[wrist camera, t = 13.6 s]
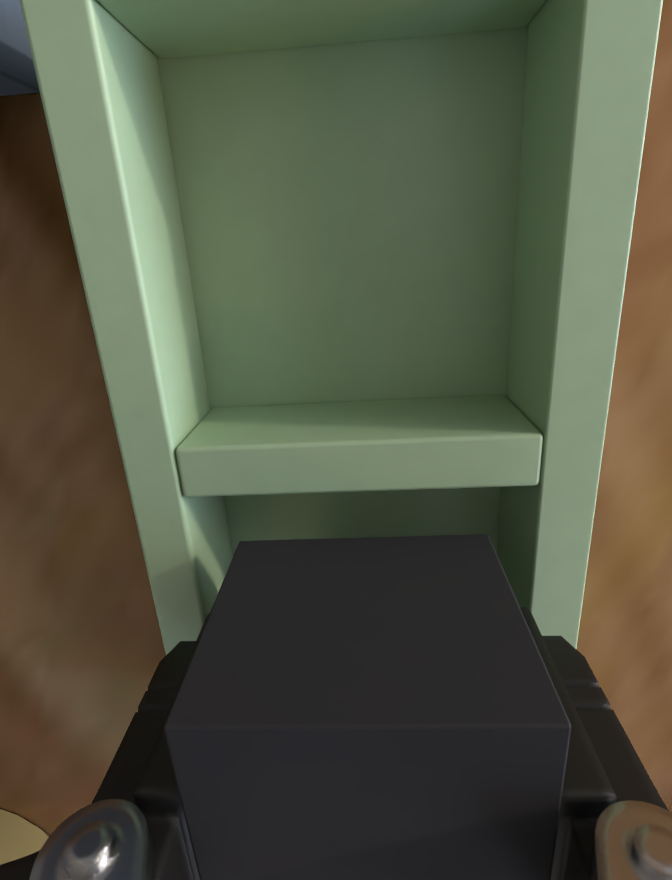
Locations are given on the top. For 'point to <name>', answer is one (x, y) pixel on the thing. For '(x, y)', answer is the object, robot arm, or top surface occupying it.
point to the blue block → (15, 52)
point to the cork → (18, 837)
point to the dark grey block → (369, 717)
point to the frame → (353, 268)
